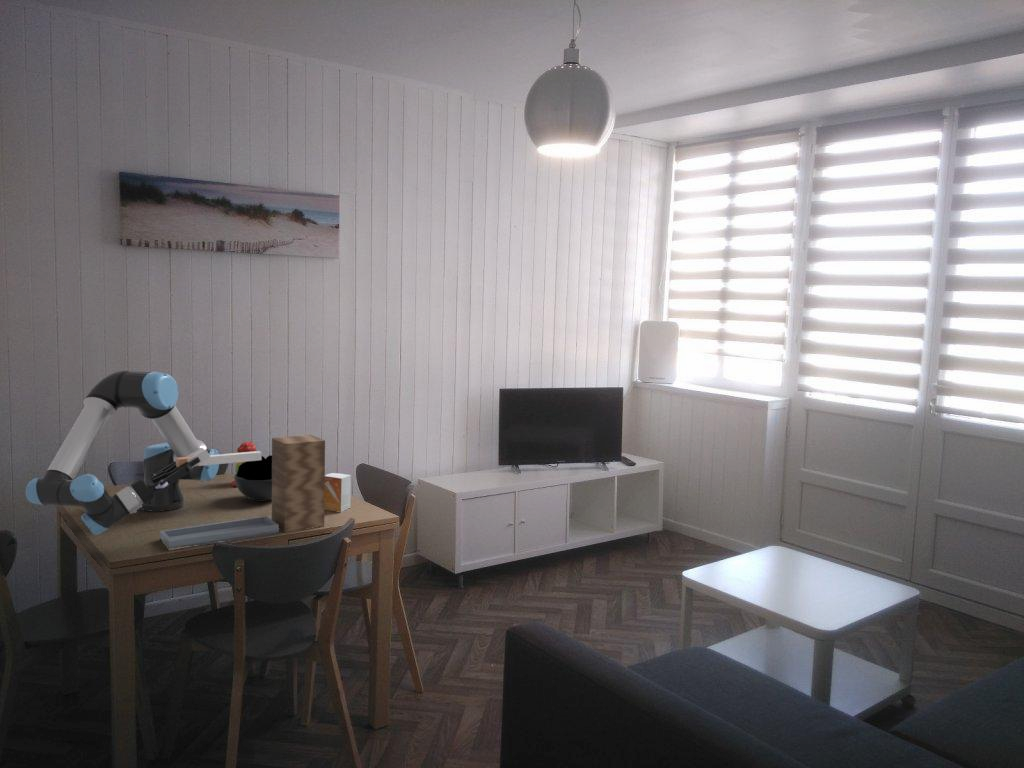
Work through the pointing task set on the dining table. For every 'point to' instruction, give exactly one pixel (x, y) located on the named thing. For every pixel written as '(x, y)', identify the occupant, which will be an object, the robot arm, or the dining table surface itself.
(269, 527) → the tray
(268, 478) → the coal bowl
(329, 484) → the small box
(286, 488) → the pedestal
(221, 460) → the marker
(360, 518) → the dining table surface
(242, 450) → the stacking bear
